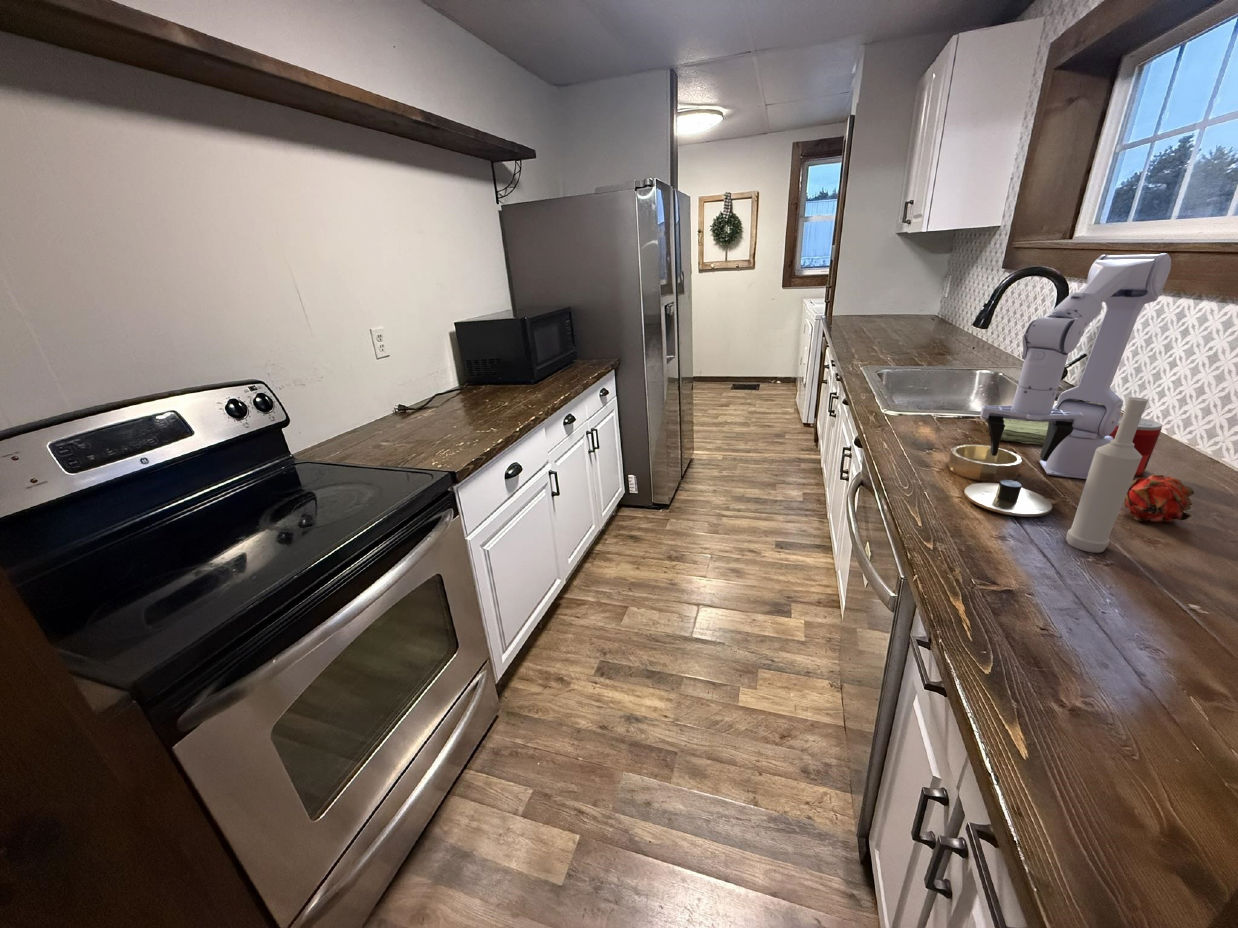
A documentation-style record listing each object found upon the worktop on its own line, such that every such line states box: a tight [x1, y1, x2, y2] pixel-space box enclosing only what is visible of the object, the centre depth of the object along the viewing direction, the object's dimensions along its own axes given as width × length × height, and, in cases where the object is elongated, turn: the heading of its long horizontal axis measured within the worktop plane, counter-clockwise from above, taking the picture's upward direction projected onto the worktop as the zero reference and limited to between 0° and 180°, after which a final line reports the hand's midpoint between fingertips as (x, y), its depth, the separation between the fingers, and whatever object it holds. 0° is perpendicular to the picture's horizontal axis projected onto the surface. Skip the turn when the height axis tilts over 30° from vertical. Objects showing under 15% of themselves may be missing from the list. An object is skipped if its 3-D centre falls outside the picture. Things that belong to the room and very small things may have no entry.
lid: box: [963, 480, 1053, 518], centre depth 96 cm, size 14×14×4 cm
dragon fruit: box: [1124, 473, 1195, 523], centre depth 88 cm, size 8×8×12 cm
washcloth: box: [1000, 418, 1049, 446], centre depth 128 cm, size 13×18×3 cm
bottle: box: [1065, 396, 1149, 554], centre depth 78 cm, size 5×5×25 cm
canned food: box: [1107, 416, 1163, 477], centre depth 106 cm, size 8×8×11 cm
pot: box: [948, 444, 1023, 483], centre depth 110 cm, size 13×13×4 cm
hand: (1017, 456), depth 94 cm, fingers open, 7 cm apart
